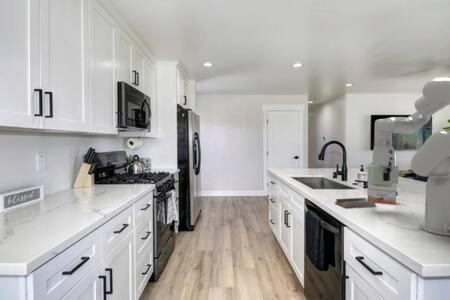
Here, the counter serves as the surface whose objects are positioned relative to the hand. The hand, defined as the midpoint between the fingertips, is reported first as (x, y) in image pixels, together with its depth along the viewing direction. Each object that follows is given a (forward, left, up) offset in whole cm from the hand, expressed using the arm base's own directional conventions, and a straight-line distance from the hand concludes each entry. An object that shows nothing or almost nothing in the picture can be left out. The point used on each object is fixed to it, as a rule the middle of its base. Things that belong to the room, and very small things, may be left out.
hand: (382, 179), depth 128 cm
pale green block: (0, 0, -2) cm, 2 cm away
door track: (+13, +5, -16) cm, 22 cm away
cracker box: (+17, -15, -17) cm, 28 cm away
